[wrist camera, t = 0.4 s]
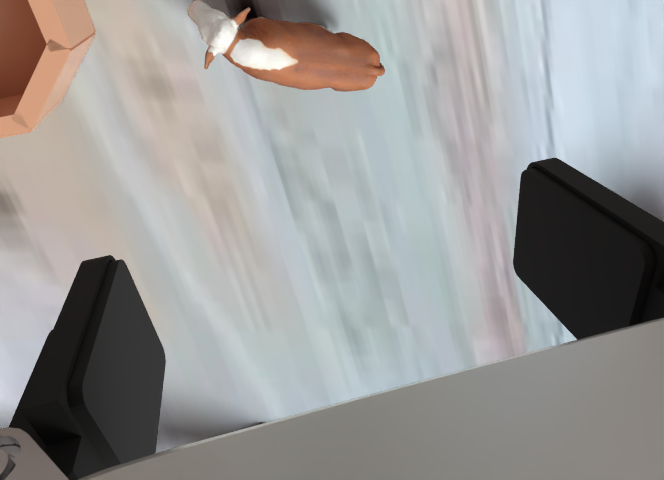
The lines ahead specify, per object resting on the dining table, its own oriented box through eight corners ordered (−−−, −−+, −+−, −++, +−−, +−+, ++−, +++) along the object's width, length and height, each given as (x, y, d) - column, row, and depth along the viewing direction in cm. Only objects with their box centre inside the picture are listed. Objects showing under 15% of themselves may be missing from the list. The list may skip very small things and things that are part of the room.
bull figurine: (193, -18, 34) (188, -10, 27) (368, 35, 38) (403, 53, 31) (184, 46, 36) (178, 69, 29) (352, 90, 40) (381, 118, 33)
